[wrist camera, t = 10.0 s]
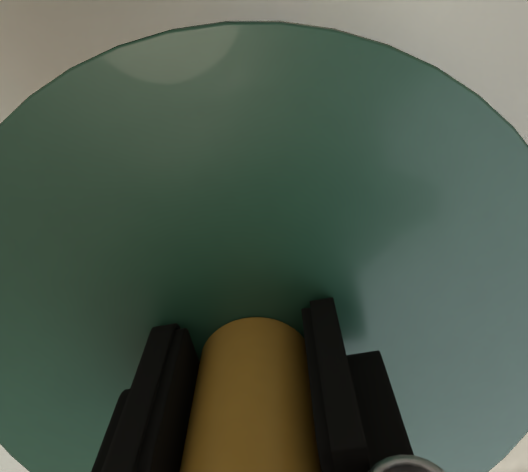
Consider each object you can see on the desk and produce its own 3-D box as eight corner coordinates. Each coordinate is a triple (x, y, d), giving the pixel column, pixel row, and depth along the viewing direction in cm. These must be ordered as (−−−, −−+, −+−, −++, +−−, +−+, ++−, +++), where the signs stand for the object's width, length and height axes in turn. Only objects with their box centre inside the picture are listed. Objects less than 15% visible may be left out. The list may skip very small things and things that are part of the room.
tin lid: (577, -62, 8) (1127, -178, 3) (538, 483, 14) (695, 760, 9) (-166, 104, 10) (-698, 229, 4) (88, 539, 16) (-2, 811, 10)
